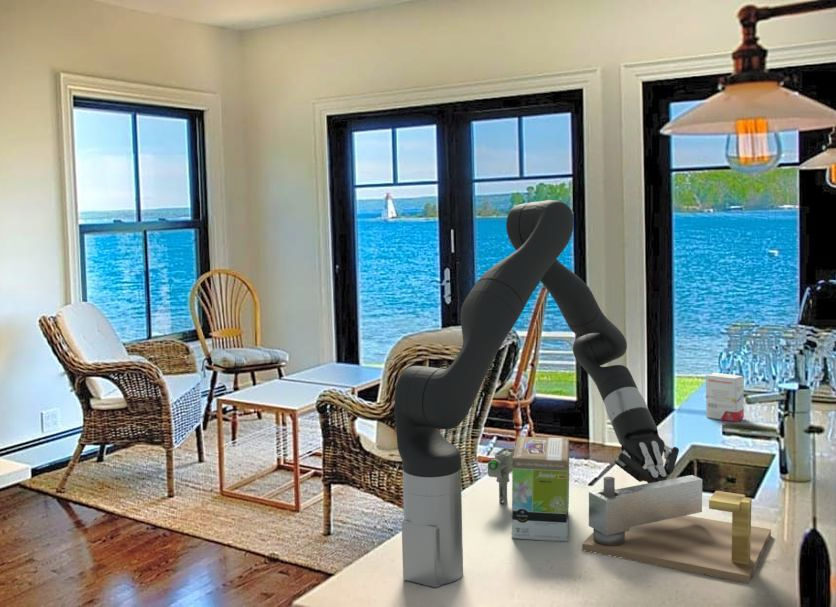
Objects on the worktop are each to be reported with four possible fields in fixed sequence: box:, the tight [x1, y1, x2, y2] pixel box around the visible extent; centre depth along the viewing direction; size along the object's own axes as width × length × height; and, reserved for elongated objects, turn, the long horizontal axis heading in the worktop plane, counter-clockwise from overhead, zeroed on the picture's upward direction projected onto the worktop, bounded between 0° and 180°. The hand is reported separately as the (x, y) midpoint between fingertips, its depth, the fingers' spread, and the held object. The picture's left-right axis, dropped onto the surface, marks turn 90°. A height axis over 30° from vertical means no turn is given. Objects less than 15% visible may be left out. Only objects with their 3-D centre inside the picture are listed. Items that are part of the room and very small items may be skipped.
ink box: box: [705, 372, 745, 423], centre depth 225 cm, size 9×5×12 cm, turn 44°
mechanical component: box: [487, 447, 515, 505], centre depth 164 cm, size 3×10×10 cm, turn 152°
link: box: [588, 474, 703, 535], centre depth 145 cm, size 21×5×6 cm, turn 114°
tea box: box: [511, 436, 570, 542], centre depth 152 cm, size 15×10×15 cm
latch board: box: [581, 476, 772, 584], centre depth 143 cm, size 21×26×12 cm
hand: (665, 499), depth 150 cm, fingers closed
